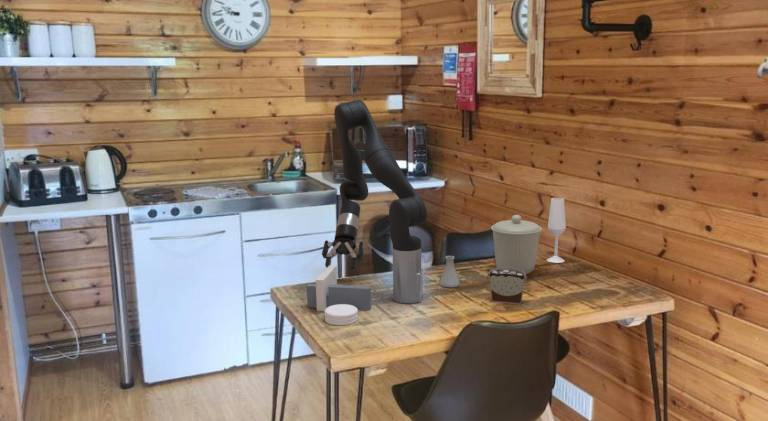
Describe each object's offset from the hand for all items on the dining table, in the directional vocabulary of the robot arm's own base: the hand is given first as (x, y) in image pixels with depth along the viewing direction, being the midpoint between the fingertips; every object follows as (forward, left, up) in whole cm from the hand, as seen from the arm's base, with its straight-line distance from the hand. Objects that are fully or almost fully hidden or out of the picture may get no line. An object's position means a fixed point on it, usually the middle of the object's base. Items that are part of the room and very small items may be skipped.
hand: (340, 268), depth 242 cm
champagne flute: (-74, -43, -6) cm, 86 cm away
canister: (-59, -26, -6) cm, 65 cm away
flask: (-37, -7, -6) cm, 38 cm away
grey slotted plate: (-5, +21, -6) cm, 23 cm away
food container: (-57, +6, -6) cm, 58 cm away
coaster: (-8, +32, -7) cm, 33 cm away
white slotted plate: (0, +17, -6) cm, 18 cm away
